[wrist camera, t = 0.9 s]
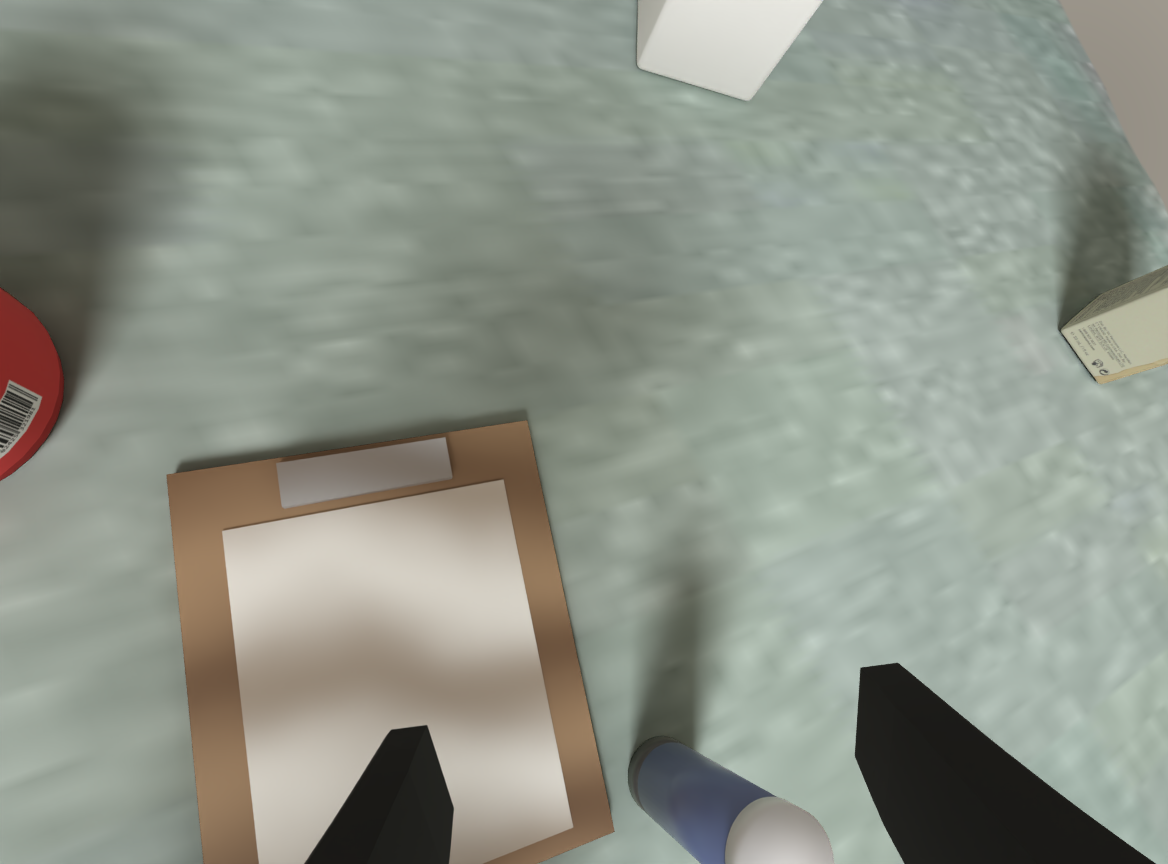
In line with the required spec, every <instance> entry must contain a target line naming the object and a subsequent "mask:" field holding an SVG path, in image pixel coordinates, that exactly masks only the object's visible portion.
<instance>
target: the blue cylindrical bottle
mask: <svg viewBox="0 0 1168 864" xmlns="http://www.w3.org/2000/svg"><path fill="white" fill-rule="evenodd" d="M628 784H629V789H630V792H631V795H632V797H633V799H634V800H635V802H636V803H637V805H638V806H639V807H640V808H642V809H643V810H644V811H645V812H646V813H647V814H648V815H649V816H650V817H651V818H652V819H653V820H654V821H656V822H657V823H658V824H659V825H660V826H661V827H662V828H663V829H664V830H665V831H666V832H667V833H669V834H670V835H671V836H672V837H673V838H674V839H675V840H676V841H677V842H678V843H679V844H680V845H682V846H683V847H684V848H685V849H686V850H687V851H688V852H689V853H690V854H691V855H692V856H693V857H695V858H696V859H697V860H698V861H699V862H700V863H701V864H834V858H833V852H832V847H831V844H830V841H829V838H828V836H827V834H826V832H825V830H824V829H823V827H822V825H821V824H820V823H819V822H818V820H817V819H816V818H815V817H814V816H812V815H811V814H810V813H808V812H807V811H805V810H803V809H801V808H799V807H798V806H796V805H794V804H792V803H790V802H789V801H787V800H785V799H782V798H778V797H776V796H774V795H772V794H771V793H769V792H767V791H765V790H764V789H762V788H760V787H758V786H756V785H755V784H753V783H751V782H749V781H748V780H746V779H744V778H742V777H740V776H739V775H737V774H735V773H733V772H732V771H730V770H728V769H726V768H724V767H723V766H721V765H719V764H717V763H716V762H714V761H712V760H710V759H708V758H707V757H705V756H703V755H701V754H700V753H698V752H696V751H694V750H692V749H691V748H689V747H687V746H685V745H684V744H682V743H680V742H678V741H676V740H675V739H673V738H670V737H666V736H658V737H654V738H651V739H649V740H647V741H646V742H644V743H643V744H642V745H641V746H640V747H639V748H638V749H637V750H636V752H635V753H634V755H633V757H632V760H631V762H630V766H629V771H628Z"/></svg>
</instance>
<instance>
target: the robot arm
mask: <svg viewBox="0 0 1168 864" xmlns="http://www.w3.org/2000/svg"><path fill="white" fill-rule="evenodd" d="M855 758H856V760H857V762H858V765H859V767H860V770H861V772H862V775H863V777H864V780H865V782H866V784H867V787H868V789H869V792H870V794H871V796H872V799H873V801H874V803H875V806H876V808H877V810H878V813H879V815H880V817H881V820H882V822H883V824H884V826H885V828H886V830H887V832H888V834H889V836H890V837H891V839H892V841H893V843H894V845H895V847H896V849H897V851H898V852H899V854H900V856H901V858H902V860H903V862H904V863H905V864H1156V863H1154V862H1153V861H1151V860H1150V859H1148V858H1147V857H1146V856H1144V855H1143V854H1141V853H1140V852H1139V851H1137V850H1136V849H1134V848H1133V847H1131V846H1130V845H1129V844H1127V843H1126V842H1124V841H1123V840H1122V839H1120V838H1119V837H1118V836H1116V835H1115V834H1113V833H1112V832H1111V831H1109V830H1108V829H1107V828H1105V827H1104V826H1103V825H1101V824H1100V823H1098V822H1097V821H1096V820H1094V819H1093V818H1092V817H1090V816H1089V815H1087V814H1086V813H1085V812H1083V811H1082V810H1081V809H1079V808H1078V807H1077V806H1075V805H1074V804H1073V803H1071V802H1070V801H1069V800H1067V799H1066V798H1065V797H1063V796H1062V795H1061V794H1060V793H1058V792H1057V791H1056V790H1054V789H1053V788H1052V787H1050V786H1049V785H1048V784H1047V783H1045V782H1044V781H1043V780H1041V779H1040V778H1039V777H1038V776H1036V775H1035V774H1034V773H1033V772H1031V771H1030V770H1029V769H1027V768H1026V767H1025V766H1024V765H1022V764H1021V763H1020V762H1018V761H1017V760H1016V759H1015V758H1013V757H1012V756H1011V755H1010V754H1008V753H1007V752H1006V751H1004V750H1003V749H1002V748H1001V747H999V746H998V745H997V744H996V743H995V742H993V741H992V740H991V739H990V738H988V737H987V736H986V735H985V734H983V733H982V732H981V731H980V730H979V729H977V728H976V727H975V726H974V725H972V724H971V723H970V722H969V721H968V720H966V719H965V718H964V717H963V716H961V715H960V714H959V713H958V712H957V711H955V710H954V709H953V708H952V707H951V706H949V705H948V704H947V703H946V702H945V701H943V700H942V699H941V698H940V697H939V696H937V695H936V694H935V693H934V692H933V691H931V690H930V689H929V688H928V687H927V686H925V685H924V684H923V683H922V682H921V681H919V680H918V679H917V678H916V677H915V676H913V675H912V674H911V673H910V672H909V671H907V670H906V669H905V668H904V667H902V666H901V665H900V664H899V663H893V664H885V665H878V666H870V667H862V668H861V669H860V685H859V700H858V715H857V730H856V746H855ZM453 814H454V806H453V803H452V800H451V797H450V794H449V791H448V788H447V785H446V781H445V778H444V775H443V772H442V769H441V766H440V763H439V760H438V757H437V754H436V750H435V747H434V744H433V741H432V738H431V735H430V732H429V729H428V726H427V725H422V726H415V727H407V728H399V729H392V730H390V732H389V733H388V734H387V735H386V737H385V738H384V740H383V741H382V743H381V745H380V746H379V748H378V749H377V751H376V753H375V754H374V756H373V758H372V759H371V761H370V762H369V764H368V766H367V767H366V769H365V770H364V772H363V774H362V775H361V777H360V779H359V780H358V782H357V783H356V785H355V786H354V788H353V790H352V791H351V793H350V794H349V796H348V798H347V799H346V801H345V802H344V804H343V805H342V807H341V809H340V810H339V812H338V813H337V815H336V816H335V818H334V819H333V821H332V823H331V824H330V826H329V827H328V829H327V830H326V832H325V833H324V835H323V836H322V838H321V839H320V841H319V842H318V844H317V845H316V847H315V848H314V850H313V851H312V853H311V854H310V856H309V857H308V859H307V860H306V862H305V863H304V864H449V860H450V850H451V839H452V826H453Z"/></svg>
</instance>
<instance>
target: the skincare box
mask: <svg viewBox="0 0 1168 864" xmlns="http://www.w3.org/2000/svg"><path fill="white" fill-rule="evenodd" d="M1061 332H1062V334H1063V335H1064V336H1065V338H1066V339H1067V340H1068V342H1069V343H1070V345H1071V346H1072V348H1073V349H1074V351H1075V352H1076V354H1077V355H1078V356H1079V358H1080V359H1081V361H1082V362H1083V363H1084V365H1085V366H1086V368H1087V369H1088V370H1089V372H1090V373H1091V374H1092V375H1093V376H1094V378H1095V379H1096V381H1097V382H1098V383H1099V384H1104V383H1107V382H1110V381H1114V380H1117V379H1120V378H1123V377H1126V376H1130V375H1133V374H1136V373H1139V372H1143V371H1146V370H1149V369H1152V368H1156V367H1159V366H1162V365H1165V364H1168V265H1167V266H1165V267H1162V268H1160V269H1158V270H1155V271H1153V272H1151V273H1148V274H1146V275H1144V276H1142V277H1139V278H1137V279H1135V280H1132V281H1130V282H1128V283H1125V284H1123V285H1121V286H1119V287H1116V288H1114V289H1112V290H1109V291H1107V292H1105V293H1102V294H1101V295H1100V296H1098V297H1097V298H1096V299H1094V300H1093V301H1092V302H1091V303H1090V304H1088V305H1087V306H1086V307H1085V308H1084V309H1083V310H1081V311H1080V312H1079V313H1078V314H1077V315H1076V316H1075V317H1073V318H1072V319H1071V320H1070V321H1069V322H1068V323H1067V324H1066V325H1065V326H1064V327H1063V328H1062V329H1061Z"/></svg>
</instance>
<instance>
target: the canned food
mask: <svg viewBox="0 0 1168 864" xmlns="http://www.w3.org/2000/svg"><path fill="white" fill-rule="evenodd" d="M63 391H64V376H63V371H62V365H61V360H60V358H59V356H58V353H57V351H56V349H55V347H54V345H53V342H52V340H51V338H50V336H49V334H48V331H47V330H46V329H45V327H44V326H43V325H42V323H41V322H40V321H39V320H38V318H37V317H36V316H35V315H34V313H33V312H31V311H30V310H29V309H28V308H26V307H25V306H24V305H23V304H22V303H20V302H19V301H18V300H17V299H16V298H14V297H13V296H12V295H10V294H9V293H8V292H6V291H5V290H4V289H2V288H1V287H0V481H1V480H2V479H4V478H6V477H7V476H9V475H11V474H12V473H13V472H15V471H16V470H17V469H18V468H19V467H20V466H22V465H23V464H24V463H25V462H26V461H28V460H29V459H30V458H31V457H32V456H33V455H34V453H35V452H36V451H37V450H38V449H39V447H40V446H41V445H42V444H43V443H44V441H45V440H46V439H47V437H48V435H49V433H50V432H51V430H52V428H53V426H54V424H55V422H56V421H57V418H58V415H59V411H60V408H61V405H62V401H63Z"/></svg>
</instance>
